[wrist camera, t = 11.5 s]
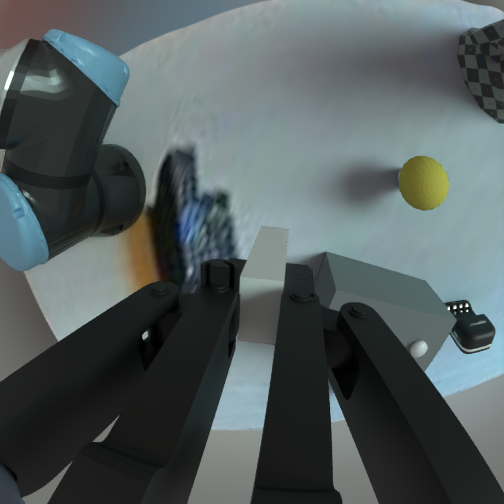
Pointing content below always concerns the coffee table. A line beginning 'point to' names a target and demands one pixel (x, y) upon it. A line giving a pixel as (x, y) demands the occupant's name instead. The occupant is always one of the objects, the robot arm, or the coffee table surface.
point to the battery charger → (470, 328)
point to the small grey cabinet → (388, 302)
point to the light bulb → (423, 183)
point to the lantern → (485, 66)
